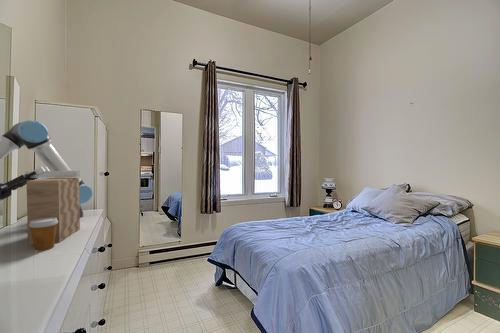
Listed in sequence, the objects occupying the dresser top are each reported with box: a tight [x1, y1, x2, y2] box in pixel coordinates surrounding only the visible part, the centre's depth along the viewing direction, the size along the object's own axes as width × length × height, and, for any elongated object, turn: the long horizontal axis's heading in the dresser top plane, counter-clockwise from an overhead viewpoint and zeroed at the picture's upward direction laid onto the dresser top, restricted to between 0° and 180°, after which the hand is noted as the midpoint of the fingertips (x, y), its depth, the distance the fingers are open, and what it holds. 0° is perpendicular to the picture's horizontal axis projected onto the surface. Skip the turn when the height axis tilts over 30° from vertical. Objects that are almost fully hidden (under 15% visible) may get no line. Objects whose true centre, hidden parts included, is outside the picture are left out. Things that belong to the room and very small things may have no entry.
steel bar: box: [24, 170, 81, 179], centre depth 125 cm, size 4×22×3 cm, turn 104°
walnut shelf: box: [26, 177, 81, 246], centre depth 120 cm, size 22×12×28 cm, turn 14°
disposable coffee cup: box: [29, 218, 58, 252], centre depth 104 cm, size 10×10×12 cm
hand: (45, 168), depth 124 cm, fingers closed on steel bar, 3 cm apart
